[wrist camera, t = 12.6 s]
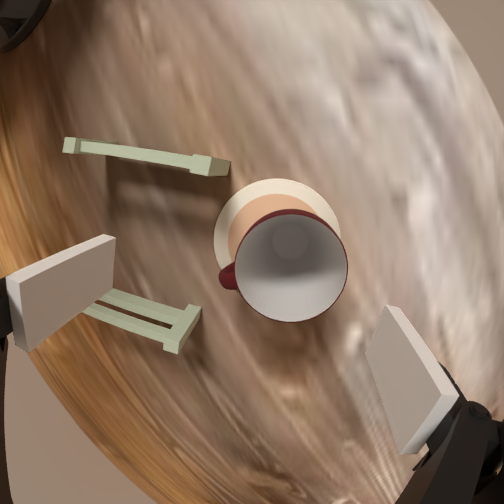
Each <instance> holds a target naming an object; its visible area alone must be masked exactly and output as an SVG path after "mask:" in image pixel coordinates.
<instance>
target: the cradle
mask: <svg viewBox="0 0 504 504" xmlns="http://www.w3.org/2000/svg"><path fill="white" fill-rule="evenodd" d="M63 152H64V153H72V154H97V155H111V156H118V157H124V158H131V159H137V160H143V161H149V162H155V163H161V164H167V165H172V166H178V167H183V168H188V169H190V173H195V174H200V175H205V176H227V175H228V171H229V166H230V162H231V161H227V160H222V159H218V158H213V157H208V156H203V155H197V154H193V157H192V156H187V155H181V154H175V153H169V152H163V151H157V150H150V149H144V148H137V147H130V146H122V145H118V143H116V142H108V141H100V140H91V139H82V138H72V137H65V141H64V146H63ZM98 300H101V301H104V302H106V303H109V304H112V305H114V306H117V307H120V308H123V309H126V310H129V311H132V312H134V313H137V314H140V315H143V316H146V317H149V318H152V319H155V320H159V321H162V322H165V323H168V324H171V325H173V326H172V327H171V329H168V328H165V327H162V326H158V325H155V324H152V323H149V322H146V321H143V320H140V319H137V318H135V317H132V316H129V315H126V314H123V313H120V312H118V311H115V310H112V309H109V308H107V307H104V306H101V305H99V304H96V303H93V304H91V305H90V306H89V307H87V308H86V309H85V310H83V311H82V313H84V314H87V315H89V316H92V317H94V318H97V319H99V320H102V321H104V322H107V323H109V324H112V325H115V326H117V327H120V328H123V329H125V330H128V331H131V332H134V333H136V334H139V335H142V336H145V337H148V338H151V339H154V340H157V341H160V342H163V343H164V345H163V350H165V351H168V352H171V353H174V354H178V353H179V351H180V350H181V348H182V346H183V345H184V343H185V342H186V340H187V338H188V337H189V335H190V333H191V332H192V330H193V328H194V327H195V325H196V323H197V322H198V320H199V319H200V313H201V307H199V306H195V305H192V304H189V305H188V306H187V307H186V309H185V310H184V311H183V310H180V309H176V308H173V307H170V306H167V305H163V304H160V303H157V302H154V301H150V300H147V299H144V298H141V297H138V296H135V295H132V294H129V293H126V292H123V291H120V290H117V289H114V288H112V290H110V291H109V292H108V293H106V294H105V295H103V296H102V297H101V298H99V299H98Z"/></svg>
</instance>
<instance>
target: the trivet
mask: <svg viewBox="0 0 504 504" xmlns="http://www.w3.org/2000/svg"><path fill="white" fill-rule="evenodd" d="M282 209H300V210H304V211H308V212H311V213H313V214H315V215H317V216H318V217H320V218H322V219H323V220H324V221H326V222H327V223H328V224H329V225H330V226H331V227H332V229H333V230H334V231H335V232H336V234H337V235H338V237H339V238H340V240H341V235H340V229H339V225H338V222H337V219H336V217H335V214H334V212H333V210H332V209H331V207H330V206H329V204H328V203H327V202H326V201H325V200H324V199H323V197H321V196H320V195H319V194H318V193H317V192H316V191H314V190H313V189H311V188H310V187H308V186H306V185H304V184H302V183H299V182H296V181H293V180H288V179H276V178H275V179H266V180H262V181H258V182H255V183H252V184H250V185H248V186H246V187H244V188H242V189H241V190H240V191H238V192H237V193H236V194H235V195H233V196H232V197H231V198H230V199H229V201H228V202H227V203H226V204H225V206H224V207H223V209H222V211H221V212H220V215H219V217H218V219H217V222H216V226H215V231H214V249H215V255H216V258H217V261H218V264H219V266H220V268H221V270H222V269H223V268H225V267H226V266H227V265H229V264H231V263H233V262H234V261H235V255H236V252H237V249H238V246H239V244H240V242H241V240H242V239H243V237H244V235H245V234H246V232H247V231H248V230H249V228H250V227H251V226H252V225H253V224H254V223H255V222H256V221H258V220H259V219H260V218H262V217H263V216H265V215H267V214H269V213H271V212H274V211H277V210H282Z"/></svg>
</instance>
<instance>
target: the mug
mask: <svg viewBox="0 0 504 504" xmlns="http://www.w3.org/2000/svg"><path fill="white" fill-rule="evenodd" d="M347 274H348V261H347V255H346V252H345V249H344V246H343V244H342V242H341V240H340V238H339V237H338V235H337V234H336V232H335V231H334V230H333V229H332V227H331V226H330V225H329V224H328V223H327V222H326V221H324V220H323V219H322V218H320V217H318V216H317V215H315V214H313V213H311V212H308V211H304V210H300V209H282V210H277V211H274V212H271V213H269V214H267V215H265V216H263V217H262V218H260V219H259V220H258V221H256V222H255V223H254V224H253V225H252V226H251V227H250V228H249V230H248V231H247V232H246V234H245V235H244V237H243V239H242V240H241V242H240V244H239V246H238V249H237V252H236V255H235V261H234V262H233V263H231V264H229V265H227V266H226V267H225V268H223V269H222V270H221V271H220V273H219V281H220V283H221V285H222V286H223V287H224V288H225V289H229V290H234V289H238V290H239V292H240V294H241V295H242V297H243V298H244V300H245V301H246V302H247V304H248V305H249V306H250V307H251V308H253V309H254V310H255V311H256V312H258V313H259V314H261V315H263V316H265V317H267V318H269V319H272V320H275V321H279V322H288V323H293V322H302V321H306V320H309V319H312V318H315V317H317V316H319V315H321V314H322V313H324V312H325V311H326V310H328V309H329V308H330V307H331V306H332V305H333V304H334V303H335V302H336V301H337V299H338V298H339V296H340V295H341V293H342V291H343V289H344V286H345V283H346V280H347Z"/></svg>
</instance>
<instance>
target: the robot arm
mask: <svg viewBox="0 0 504 504" xmlns="http://www.w3.org/2000/svg"><path fill="white" fill-rule="evenodd" d="M49 3H50V0H0V51H1V52H6V51H9V50H11V49H13V48H15V47H16V46H17V45H19V44H20V43H21V42H22V41H23V40H24V39H25V38H26V37H27V36H28V35H29V34H30V32H31V31H32V30H33V29H34V28H35V26H36V25H37V23H38V22H39V21H40V19H41V17H42V16H43V14H44V13H45V11H46V9H47V7H48V5H49ZM115 243H116V237H112V236H109V235H105V234H102V235H100V236H97V237H95V238H92V239H90V240H87V241H85V242H82V243H80V244H78V245H75V246H73V247H70V248H68V249H66V250H63V251H61V252H59V253H56V254H54V255H52V256H49V257H47V258H45V259H42V260H40V261H38V262H36V263H33V264H31V265H29V266H27V267H25V268H22V269H20V270H18V271H16V272H14V273H12V274H10V275H7V276H6V277H4V278H2V279H0V504H13V501H12V498H11V493H10V487H9V480H8V472H7V462H6V452H5V434H4V391H5V390H4V389H5V373H6V361H7V351H8V339H7V335H8V334H10V333H11V332H13V335H14V340H15V345H16V346H18V347H20V348H21V349H23V350H25V351H26V352H28V353H30V352H31V351H32V350H33V349H34V348H36V347H37V346H38V345H39V344H41V343H42V342H43V341H45V340H46V339H47V338H48V337H50V336H51V335H52V334H53V333H55V332H56V331H57V330H59V329H60V328H61V327H62V326H64V325H65V324H66V323H68V322H69V321H70V320H72V319H73V318H74V317H75V316H77V315H78V314H79V313H81V312H82V311H83V310H85V309H86V308H87V307H89V306H90V305H91V304H93V303H94V302H95V301H97V300H98V299H99V298H101V297H102V296H103V295H105V294H106V293H108V292H109V291H110V290H112V287H113V269H114V255H115ZM365 355H366V358H367V361H368V363H369V366H370V369H371V371H372V374H373V377H374V380H375V383H376V385H377V388H378V391H379V394H380V397H381V400H382V403H383V406H384V409H385V412H386V415H387V418H388V421H389V424H390V427H391V430H392V433H393V436H394V440H395V443H396V446H397V449H398V453H399V454H417V453H418V452H419V451H420V449H421V448H422V447H423V446H424V444H425V443H427V446H428V448H429V451H428V452H427V453H426V454H425V456H424V457H423V458H422V459H421V460H420V461H419V463H418V464H417V465H416V466H415V467H414V468H413V469H412V470H413V471H415V470H416V471H415V473H414V474H413V476H412V478H411V479H410V481H409V483H408V484H407V486H406V487H405V489H404V491H403V492H402V494H401V495H400V497H399V498H398V500H397V501H396V503H395V504H504V419H503V421H502V422H499V421H495V420H492V417H491V414H490V412H489V411H488V410H487V409H486V408H485V407H484V406H483V405H481V404H479V403H477V402H474V401H467V400H466V398H465V397H464V395H463V394H462V392H461V391H460V389H459V387H458V386H457V384H455V381H454V380H453V378H451V375H450V374H449V372H448V371H447V369H446V368H445V367H444V366H443V365H441V364H440V363H439V362H438V361H437V360H436V359H435V357H434V356H433V354H432V353H431V351H430V350H429V349H428V347H427V346H426V344H425V343H424V341H423V340H422V339H421V337H420V336H419V334H418V333H417V331H416V330H415V329H414V327H413V326H412V325H411V323H410V322H409V320H408V319H407V318H406V316H405V315H404V314H403V312H402V311H401V310H400V308H398V307H394V306H389V305H385V307H384V310H383V312H382V315H381V317H380V320H379V322H378V325H377V327H376V329H375V332H374V334H373V337H372V339H371V341H370V343H369V346H368V348H367V350H366V352H365ZM501 466H502V468H501V470H500V472H499V474H498V475H497V470H498V469H499V468H500V467H501Z"/></svg>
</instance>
